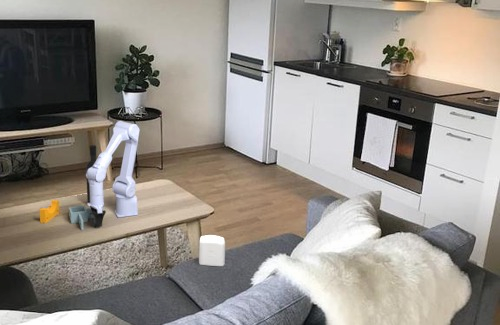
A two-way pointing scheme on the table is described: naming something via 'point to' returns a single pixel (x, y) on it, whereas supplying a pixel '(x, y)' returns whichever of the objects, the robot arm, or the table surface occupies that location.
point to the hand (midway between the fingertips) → (97, 221)
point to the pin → (95, 221)
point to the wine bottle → (89, 165)
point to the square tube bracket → (80, 215)
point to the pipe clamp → (49, 211)
